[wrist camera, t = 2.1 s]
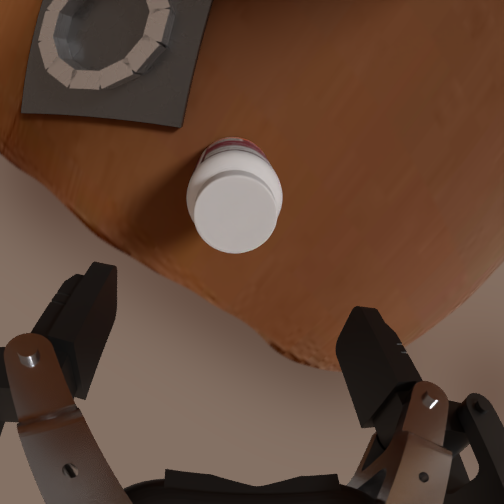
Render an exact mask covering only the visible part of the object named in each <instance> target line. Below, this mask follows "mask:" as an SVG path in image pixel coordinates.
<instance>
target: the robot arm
mask: <svg viewBox="0 0 504 504" xmlns="http://www.w3.org/2000/svg"><path fill="white" fill-rule="evenodd" d="M116 310H117V267H116V266H114V265H108V264H103V263H99V262H93V263H92V265H91V266H90V267H89V269H88V271H87V272H86V274H85V275H80V274H76V275H74V276H72V277H71V278H69V279H68V280H66V281H65V282H64V283H63V284H62V286H61V287H60V289H59V290H58V293H57V294H56V295H55V296H54V298H53V299H52V302H50V303H49V305H48V306H47V308H46V310H45V311H44V313H43V314H42V316H41V317H40V319H39V320H38V322H37V323H36V325H35V327H34V328H33V330H32V332H31V333H26V334H22V335H19V336H16V337H15V338H13V339H12V340H11V341H10V342H9V343H8V344H7V345H6V347H0V435H1V432H2V429H3V426H4V423H5V421H6V422H19V423H18V424H17V429H18V433H19V437H20V440H21V443H22V446H23V449H24V452H25V455H26V457H27V460H28V463H29V466H30V468H31V471H32V473H33V476H34V478H35V481H36V483H37V485H38V488H39V490H40V492H41V495H42V497H43V499H44V501H45V503H46V504H504V427H503V425H502V423H501V421H500V419H499V417H498V415H497V413H496V411H495V410H494V408H493V406H492V405H491V403H490V402H489V401H488V400H487V399H486V398H485V397H484V396H482V395H480V394H477V393H472V394H470V395H468V396H467V398H466V399H465V400H464V401H463V402H462V403H458V402H454V401H449V400H448V398H447V396H446V394H445V393H444V392H443V390H442V389H441V388H440V387H438V386H437V385H435V384H433V383H431V382H428V381H422V379H421V377H420V375H419V373H418V371H417V370H416V368H415V366H414V364H413V362H412V360H411V359H410V357H409V355H408V354H406V350H405V348H404V346H403V345H401V344H402V343H401V341H400V339H399V338H398V336H397V334H396V333H395V332H394V331H393V330H392V329H391V328H390V327H389V326H388V325H387V324H386V323H385V322H384V320H383V319H382V317H381V315H380V313H379V312H378V310H377V309H375V308H368V307H360V306H356V307H354V308H353V310H352V311H351V313H350V315H349V317H348V319H347V321H346V323H345V325H344V327H343V329H342V331H341V333H340V335H339V337H338V340H337V343H336V356H337V359H338V361H339V364H340V367H341V370H342V373H343V375H344V378H345V381H346V384H347V387H348V390H349V393H350V396H351V398H352V401H353V404H354V407H355V410H356V413H357V416H358V419H359V422H360V425H361V428H369V427H375V429H376V432H375V433H374V434H373V435H372V437H371V440H370V442H369V444H368V446H367V448H366V451H365V453H364V455H363V457H362V460H361V462H360V464H359V466H358V468H357V470H356V472H355V474H354V476H353V478H352V479H351V481H350V482H349V483H348V484H347V485H346V486H345V485H341V484H339V480H338V475H337V474H329V475H316V476H299V477H296V478H292V479H288V480H285V481H281V482H277V483H273V484H269V485H264V486H257V487H256V486H251V485H247V484H243V483H239V482H235V481H232V480H228V479H224V478H220V477H217V476H214V475H211V474H200V473H191V472H182V471H175V470H168V469H165V479H156V480H150V481H144V482H141V483H137V484H134V485H131V486H129V487H126V488H124V489H123V488H122V487H121V485H120V483H119V482H118V480H117V478H116V477H115V475H114V473H113V472H112V470H111V468H110V466H109V465H108V463H107V461H106V459H105V458H104V456H103V454H102V452H101V451H100V449H99V447H98V445H97V443H96V441H95V439H94V437H93V435H92V433H91V431H90V429H89V427H88V425H87V423H86V421H85V419H84V417H83V415H82V413H81V411H80V409H79V408H77V406H76V404H75V402H74V400H73V399H74V397H77V398H80V399H84V400H86V397H87V393H88V391H89V388H90V385H91V382H92V379H93V377H94V374H95V371H96V368H97V365H98V363H99V360H100V357H101V354H102V352H103V349H104V347H105V344H106V342H107V339H108V336H109V334H110V331H111V329H112V326H113V323H114V321H115V316H116ZM469 444H470V445H471V447H472V449H473V452H474V454H475V456H476V459H477V461H478V464H479V472H478V475H477V476H476V478H474V479H473V480H471V481H470V480H469V478H468V475H467V472H466V470H465V467H464V465H463V462H462V460H461V457H460V455H459V453H460V452H461V451H462V450H463V449H464V448H466V447H467V446H468V445H469Z"/></svg>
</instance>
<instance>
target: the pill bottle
mask: <svg viewBox="0 0 504 504" xmlns="http://www.w3.org/2000/svg"><path fill="white" fill-rule="evenodd" d="M186 200H187V207H188V211H189V214H190V216H191V219H192V221H193V222H194V224H195V227H196V229H197V231H198V233H199V235H200V236H201V237H202V239H203V240H204V241H205V242H206V243H207V244H209V245H210V246H211V247H213V248H215V249H217V250H219V251H222V252H226V253H244V252H248V251H251V250H253V249H255V248H257V247H259V246H260V245H262V244H263V243H264V242H265V241H266V240H267V239H268V238H269V237H270V235H271V234H272V232H273V230H274V228H275V225H276V221H277V217H278V215H279V213H280V210H281V205H282V189H281V185H280V181H279V179H278V177H277V175H276V173H275V171H274V170H273V168H272V166H271V165H270V163H269V161H268V159H267V158H266V156H265V154H264V153H263V152H262V150H261V149H260V148H259V147H258V146H257V145H255V144H254V143H252V142H251V141H249V140H246V139H243V138H239V137H228V138H223V139H220V140H217V141H215V142H214V143H212V144H211V145H209V146H208V147H207V148H206V149H205V151H204V152H203V153H202V154H201V156H200V158H199V160H198V162H197V165H196V167H195V169H194V172H193V174H192V176H191V179H190V181H189V185H188V189H187V197H186Z"/></svg>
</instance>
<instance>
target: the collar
mask: <svg viewBox="0 0 504 504" xmlns="http://www.w3.org/2000/svg"><path fill="white" fill-rule="evenodd" d="M212 3H213V0H43V1H42V5H41V8H40V12H39V15H38V19H37V23H36V27H35V31H34V35H33V40H32V44H31V49H30V54H29V59H28V65H27V71H26V77H25V84H24V91H23V99H22V108H21V113H38V114H60V115H76V116H89V117H100V118H111V119H120V120H129V121H137V122H145V123H152V124H159V125H166V126H173V127H179V128H181V127H183V121H184V116H185V112H186V107H187V102H188V97H189V93H190V88H191V84H192V79H193V75H194V71H195V67H196V63H197V59H198V54H199V50H200V47H201V43H202V39H203V35H204V31H205V28H206V24H207V20H208V17H209V13H210V10H211V6H212Z"/></svg>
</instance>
